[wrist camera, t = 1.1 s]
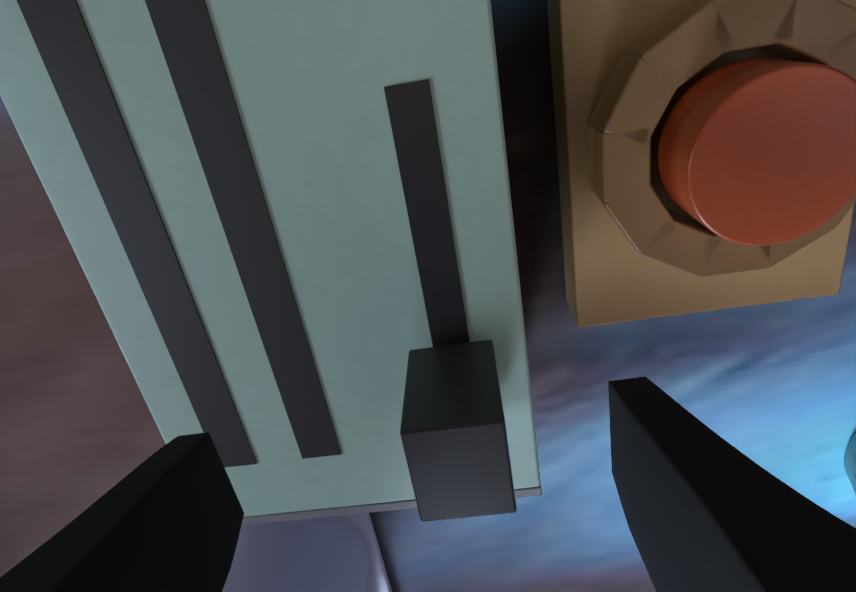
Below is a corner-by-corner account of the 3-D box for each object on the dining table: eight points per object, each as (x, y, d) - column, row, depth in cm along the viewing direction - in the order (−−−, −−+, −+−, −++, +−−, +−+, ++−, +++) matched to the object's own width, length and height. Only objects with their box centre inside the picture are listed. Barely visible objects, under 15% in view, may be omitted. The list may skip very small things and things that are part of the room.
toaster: (517, 374, 21) (542, 496, 15) (264, 405, 22) (204, 531, 16) (454, -176, 14) (459, -308, 8) (82, -94, 15) (-129, -165, 9)
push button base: (803, 270, 19) (876, 319, 16) (566, 302, 19) (589, 355, 16) (859, -123, 14) (979, -167, 11) (542, -61, 15) (568, -85, 12)
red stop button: (809, 207, 15) (862, 233, 13) (655, 229, 15) (684, 257, 13) (832, 43, 13) (896, 46, 11) (657, 73, 13) (691, 81, 11)
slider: (503, 419, 14) (517, 513, 11) (425, 428, 14) (420, 522, 11) (492, 338, 13) (505, 420, 10) (408, 349, 13) (398, 432, 10)
